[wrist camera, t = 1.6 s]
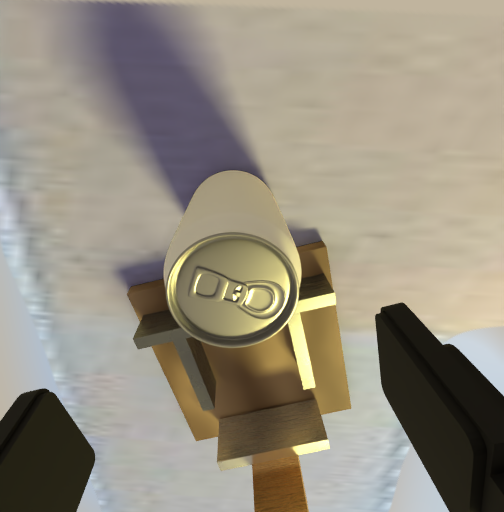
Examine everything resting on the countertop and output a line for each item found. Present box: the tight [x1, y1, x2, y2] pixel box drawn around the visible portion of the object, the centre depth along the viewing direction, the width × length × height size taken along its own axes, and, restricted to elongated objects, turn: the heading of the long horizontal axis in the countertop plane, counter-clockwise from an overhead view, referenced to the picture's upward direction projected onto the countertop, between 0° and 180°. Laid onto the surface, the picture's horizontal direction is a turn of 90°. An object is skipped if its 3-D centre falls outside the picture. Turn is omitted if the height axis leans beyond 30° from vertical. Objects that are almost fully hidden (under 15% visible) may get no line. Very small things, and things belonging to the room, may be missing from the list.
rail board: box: [127, 241, 351, 441], centre depth 29 cm, size 16×18×1 cm
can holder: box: [133, 273, 336, 411], centre depth 26 cm, size 15×9×3 cm, turn 103°
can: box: [164, 170, 301, 348], centre depth 19 cm, size 6×6×12 cm
